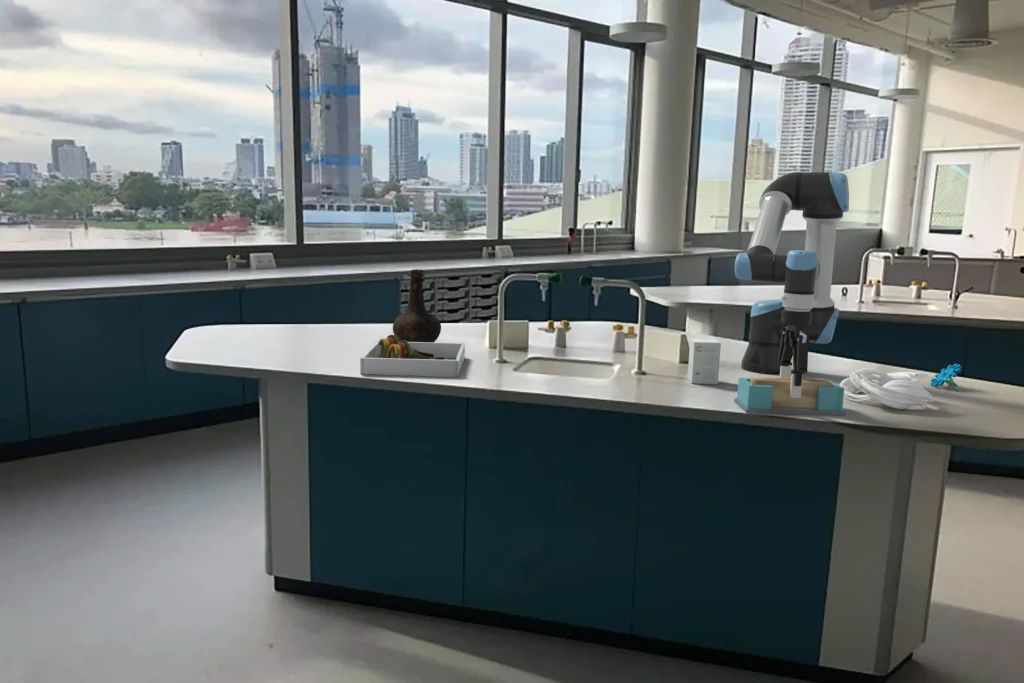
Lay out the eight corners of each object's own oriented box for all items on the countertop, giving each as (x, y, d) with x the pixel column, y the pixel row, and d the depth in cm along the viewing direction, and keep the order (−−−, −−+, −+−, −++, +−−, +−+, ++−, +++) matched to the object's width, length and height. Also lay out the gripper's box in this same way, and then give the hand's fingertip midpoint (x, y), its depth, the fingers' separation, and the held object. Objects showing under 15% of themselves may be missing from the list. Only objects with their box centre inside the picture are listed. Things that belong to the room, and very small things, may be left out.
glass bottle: (420, 351, 267) (420, 272, 262) (382, 345, 277) (381, 269, 272) (450, 344, 282) (451, 269, 277) (414, 339, 291) (414, 266, 286)
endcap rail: (734, 401, 209) (736, 377, 208) (827, 404, 209) (830, 379, 208) (746, 412, 198) (748, 386, 197) (844, 415, 198) (847, 389, 197)
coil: (867, 389, 231) (869, 359, 229) (950, 405, 211) (953, 372, 210) (819, 401, 216) (822, 369, 215) (904, 419, 197) (907, 384, 196)
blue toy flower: (926, 376, 239) (955, 358, 235) (939, 390, 239) (968, 372, 235) (931, 389, 230) (961, 369, 225) (944, 403, 230) (975, 384, 225)
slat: (748, 401, 206) (750, 376, 204) (822, 403, 206) (824, 378, 204) (753, 406, 201) (756, 380, 200) (829, 408, 201) (831, 382, 200)
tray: (377, 355, 259) (377, 341, 258) (464, 357, 259) (464, 343, 258) (360, 374, 231) (360, 358, 230) (458, 376, 231) (458, 360, 230)
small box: (712, 379, 235) (716, 338, 233) (718, 384, 229) (721, 342, 227) (686, 379, 235) (689, 338, 233) (691, 384, 229) (694, 341, 227)
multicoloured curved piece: (470, 367, 246) (471, 337, 244) (416, 378, 228) (416, 346, 226) (420, 356, 261) (420, 327, 260) (366, 365, 244) (365, 335, 242)
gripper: (770, 303, 209) (763, 384, 213) (797, 314, 189) (789, 403, 193) (797, 304, 209) (789, 384, 213) (827, 315, 189) (818, 403, 193)
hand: (789, 393), depth 203 cm, fingers open, 8 cm apart
